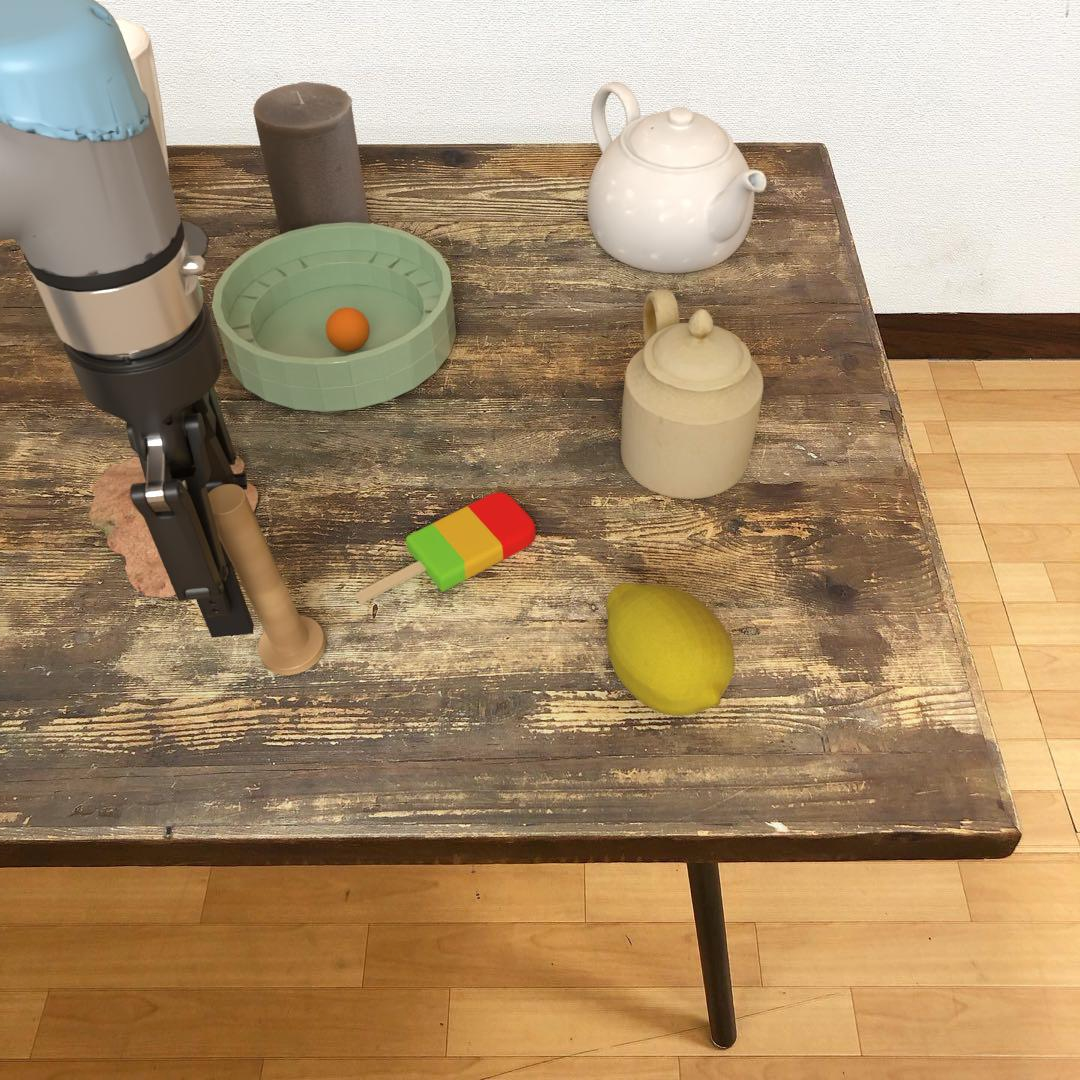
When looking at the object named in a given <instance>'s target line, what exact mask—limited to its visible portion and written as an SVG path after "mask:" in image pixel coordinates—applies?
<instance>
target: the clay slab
mask: <svg viewBox="0 0 1080 1080" xmlns="http://www.w3.org/2000/svg"><path fill="white" fill-rule="evenodd" d="M236 456H237V458H236V461H235V465H230V467H231V469H232V471H233V473H234V474H238V473H244V472H243V471H244V469H245V463H244V461H243V459H241V458H240V456H239V455H238V454H237V453H236ZM135 483H146V480H145V477H144V473H143V470H142V466H141V463H140V459H139V456H133V457H131V458H129V459H127V460H125V461H123V462H121V463H119V464H115V465H113V466H111V467H108V468H106V469H105V471H104V473H103V474H102V475H101V476H100V478H98V479H97V481H96V482H95V484H94V486H93V487H92V494H93V496H94V497H93V499H92V502H93V503H92V504H91V506H90V510H89V511H88V518H89V520H90V524H91V526H93V528H96V529H99V530H101V531H102V532H103V533H104V535H105V537H106V541H107V542H106V543H107V545H108V547H109V548H110V550H111V551H112V552H114V553H117V554H119V555H121V556H123V557H124V558H125V562H126V564H125V567H124V569H125V572H126V574H127V578H128V581H129V583H130V584H131V585H132V587H133V588H134V589H135V590H136V591H137V592H138V593H139V594H143V595H144V596H146V597H151V598H153V597H154V598H159V599H165V598H171V597H174V596H176V593H175V591H174V588H173V586H172V584H171V582H170V579H169V577H168V574H167V572H166V569H165V567H164V565H163V562H162V560H161V557H160V555H159V553H158V550H157V548H156V545H155V543H154V541H153V538H152V536H151V533H150V531H149V529H148V526H147V524H146V522H145V519H144V517H143V516H142V515H141V514H140V512H139V511H138V510H137V508H136V507H135V506H134V504H133V502H132V500H131V497H130V488H131V485H132V484H135ZM244 492H245V494H246V496H247V498H248V501H249V503H250V505H251V507H252V510H253V512H254V513H255V510H256V507H257V504H258V502H259V499H258V498H259V493H258V490H257V488H256V487H255V486H254V485H253V484H251V483H248V482H247V490H244Z"/></svg>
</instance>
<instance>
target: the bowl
mask: <svg viewBox="0 0 1080 1080" xmlns="http://www.w3.org/2000/svg"><path fill="white" fill-rule="evenodd" d="M453 295H454V294H453V285H452V275H451V269H450V267H449V265H448V264H447V262H446V260H445V258H444V257H443V255H442V253H440V251H438V250H437V249H435V248H434V246H432V245H431V244H430V243H428V242H427V241H426V240H424V239H423V238H421V237H419V236H416V235H415V234H412V233H410V232H407V231H405V230H402V229H399V228H396V227H390V226H386V225H382V224H379V223H378V224H377V223H369V224H368V223H353V222H344V223H331V224H320V225H315V226H310V227H306V228H301V229H297V230H292V231H289V232H286V233H284V234H281V235H280V234H279V235H275V236H274V237H271V238H268V239H266V240H263V241H262V242H260V243H258V244H257V245H255V246H254V247H252V248H250V249H249V250H247V251H245V252H243V253H242V254H241V255H240V256H239V257H238V258H237V259H235V260H234V261H233V262H232V263H231V264H230V265H229V266H228V267H227V268H226V269H225V270H224V271H223V272H222V275H221V276H220V277H219V280H218V281H217V282H216V285H215V286H214V290H213V295H212V296H213V297H212V304H211V311H212V313H213V316H214V320H215V323H216V327H217V330H218V334H219V336H220V340H221V343H222V347H223V350H224V353H225V357H226V360H227V363H228V366H229V369H230V373H232V374H233V376H234V377H235V379H236V380H238V382H239V383H240V384H241V386H243V387H244V388H245V390H248V391H249V392H250V393H252V394H254V395H255V396H257V397H259V398H261V399H262V400H264V401H266V402H268V403H272V404H276V405H279V406H283V407H286V408H288V409H293V410H301V411H310V412H323V413H328V412H338V411H339V412H340V411H349V410H351V411H352V410H359V409H362V408H366V407H370V406H374V405H378V404H381V403H385V402H388V401H391V400H393V399H395V398H397V397H399V396H401V395H404V394H405V393H407V392H410V391H412V390H414V389H416V388H417V387H418V386H420V385H421V384H423V383H424V382H425V381H426V380H428V379H429V378H430V377H432V376H433V375H434V374H436V372H437V371H438V370H439V369H440V368H441V366H442V365H443V364H444V362H445V361H446V360H447V358H448V357H449V356H450V354H451V352H452V349H453V346H454V342H455V340H456V337H457V330H456V318H455V306H454V296H453ZM346 307H349V308H354V309H356V310H358V311H360V312H361V313H362V314H363V315H364V316H365V317H366V319H367V321H368V323H369V328H370V333H369V337H368V340H367V341H366V343H365V344H364V345H363V346H362V347H361V348H359V349H357V350H355V351H342V350H339V349H337V348H336V347H334V346H333V345H332V344H331V342H330V341H329V339H328V337H327V334H326V323H327V320H328V318H329V317H330V315H331V314H332V313H333V312H334V311H336V310H338V309H340V308H346Z"/></svg>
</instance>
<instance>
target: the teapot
mask: <svg viewBox="0 0 1080 1080" xmlns="http://www.w3.org/2000/svg"><path fill="white" fill-rule="evenodd" d="M611 93H612V94H614V95H615V96H616V97H617V98H618V100H619V101H620V103H621V104H622V107H623V109H624V113H625V122H626V123H625V126H624V127H623V128H622V130H621V132H620V133H619V134H618V135H617V136H616V138H614V139H612V137H611V134H610V131H609V128H608V125H607V119H606V105H607V101H608V98H609V97H610V95H611ZM640 109H641V108H640V105H639V102H638V99H637V98H636V95H635V94H634V92H633V91H632V90H631V88H629V87H628V86H627V85H626V84H624V83H623V82H620V81H613V82H609V83H606V84H604V85H602V86H601V87H599V89H598V90H597V92H596V93H595V95H594V97H593V99H592V103H591V112H590V113H591V114H590V117H591V126H592V130H593V134H594V138H595V140H596V142H597V145H598V148H599V149H600V152H601V156H600V157H599V159H598V160H597V162H596V164H595V166H594V169H593V171H592V174H591V176H590V181H589V184H588V190H587V197H586V211H587V212H586V213H587V219H588V224H589V229H590V231H591V234H592V236H593V237H594V240H595V241H596V242H597V244H598V245H599V246H600V247H601V249H602V250H603V251H604V252H605V253H607V254H608V255H609V256H610V257H611V258H613V259H614V260H617V261H619V262H621V263H623V264H624V265H627V266H630V267H633V268H636V269H639V270H643V271H647V272H651V273H659V274H687V273H693V272H699V271H703V270H707V269H709V268H712V267H715V266H717V265H719V264H721V263H723V262H724V261H726V260H728V258H730V257H731V256H732V255H733V254H734V253H735V252H736V251H737V250H738V249H739V248H740V247H741V245H743V243H744V240H745V239H746V237H747V235H748V233H749V229H750V228H751V223H752V220H753V215H754V209H755V193H763V192H764V191H765V190H766V187H767V184H768V183H767V176H766V175H765V173H764V172H763V171H761V170H759V169H755V168H753V169H752V168H749V165H748V162H747V161H746V159H745V157H744V155H743V154H742V152H741V150H740V149H739V148H738V146H737V145H736V144H735V142H734V140H733V137H732V135H731V134H730V133H729V132H728V131H727V130H726V128H724V127H723V126H722V125H720V124H718V123H717V122H716V121H714V120H713V119H711V118H710V117H708V116H706V115H704V114H701V113H699V112H695V111H692V110H691V109H690V108H688V107H684V106H676V107H673V108H671V109H670V110H665V111H660V112H657V113H651V114H647V115H643V116H641V110H640Z"/></svg>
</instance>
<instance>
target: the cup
mask: <svg viewBox="0 0 1080 1080" xmlns="http://www.w3.org/2000/svg"><path fill="white" fill-rule="evenodd" d="M114 19H115V21H116V22H117V24H118V26H119V28H120V31H121V33H122V36H123V39H124V41H125V44H126V47H127V50H128V53H129V55H130V58H131V61H132V64H133V67H134V70H135V72H136V75H137V78H138V81H139V84H140V87H141V89H142V91H143V92H144V93H145V94H146V95H147V97H148V101H149V105H150V111H151V115H152V118H153V122H154V126H155V129H156V133H157V136H158V140H159V143H160V147H161V150H162V154H163V157H164V161H165V165H166V168H167V172H168V175H169V176H170V172H169V171H170V167H169V155H168V146H167V138H166V137H167V136H166V128H165V119H164V110H163V104H162V103H163V102H162V98H161V96H162V95H161V90H160V85H159V79H158V73H157V66H156V62H155V56H154V51H153V46H152V40H151V36H150V35H149V33H148V32H147V31H146V29H145V28H144V27H143V26H142V25H140V24H137V23H135V22H133V21H131V20H128V19H125V18H114ZM181 221H182V224H183V227H184V234H185V237H186V240H187V247H188V250H189V254H190V256H201V257H202V258H203V256H204V255H205V254H206V252H207V248H208V241H209V238H208V236H207V234H206V233H205V232H204V230H203V229H202V228H201V227H199V226H198V225H196V224H194V223H192V222H190V221H188V220H182V219H181Z"/></svg>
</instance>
